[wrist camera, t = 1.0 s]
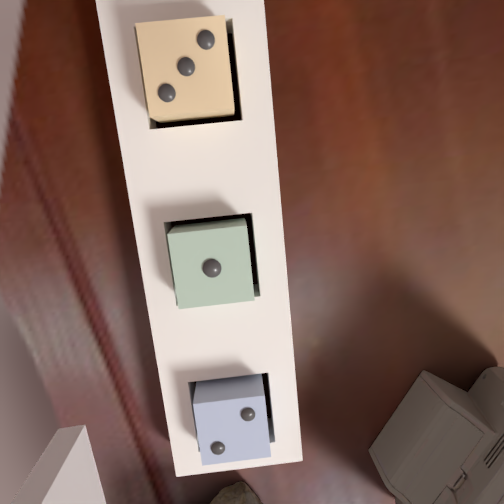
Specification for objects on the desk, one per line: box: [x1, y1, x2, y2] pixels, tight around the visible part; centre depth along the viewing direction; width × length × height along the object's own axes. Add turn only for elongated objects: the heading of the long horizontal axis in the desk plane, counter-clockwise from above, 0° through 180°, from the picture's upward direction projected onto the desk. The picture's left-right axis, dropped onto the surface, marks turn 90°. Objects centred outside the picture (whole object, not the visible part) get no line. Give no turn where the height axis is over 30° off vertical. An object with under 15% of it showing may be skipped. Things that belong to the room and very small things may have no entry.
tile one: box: [167, 218, 255, 309], centre depth 27 cm, size 5×5×4 cm
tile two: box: [193, 374, 271, 466], centre depth 30 cm, size 5×5×4 cm
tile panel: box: [96, 0, 303, 477], centre depth 29 cm, size 34×10×3 cm, turn 6°
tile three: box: [135, 15, 235, 123], centre depth 25 cm, size 5×5×4 cm
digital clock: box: [369, 367, 504, 504], centre depth 30 cm, size 16×9×11 cm, turn 140°
